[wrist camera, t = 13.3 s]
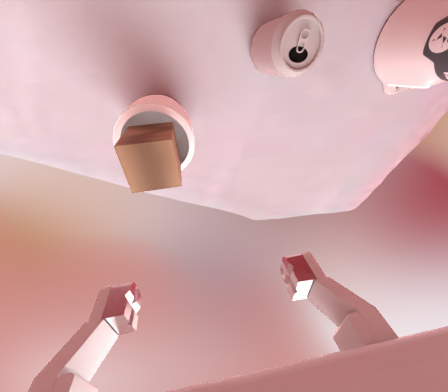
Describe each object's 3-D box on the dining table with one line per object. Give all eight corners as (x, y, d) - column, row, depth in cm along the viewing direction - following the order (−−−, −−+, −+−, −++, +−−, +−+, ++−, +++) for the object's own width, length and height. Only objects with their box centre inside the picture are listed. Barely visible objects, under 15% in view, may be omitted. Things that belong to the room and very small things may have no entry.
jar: (138, 143, 40) (121, 179, 28) (128, 86, 35) (102, 100, 23) (190, 143, 43) (195, 177, 31) (189, 90, 37) (195, 105, 25)
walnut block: (173, 121, 25) (171, 139, 20) (180, 160, 29) (181, 185, 23) (128, 126, 25) (113, 146, 19) (141, 166, 28) (132, 193, 22)
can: (245, 71, 37) (270, 75, 27) (253, 18, 33) (284, 0, 23) (282, 75, 38) (317, 81, 29) (293, 25, 34) (339, 12, 25)
